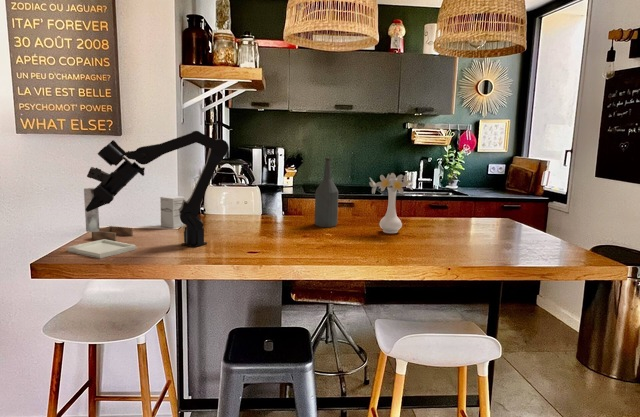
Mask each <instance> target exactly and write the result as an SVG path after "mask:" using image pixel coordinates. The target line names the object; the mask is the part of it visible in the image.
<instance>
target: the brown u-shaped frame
mask: <svg viewBox="0 0 640 417" xmlns="http://www.w3.org/2000/svg"><path fill="white" fill-rule="evenodd" d="M117 235H118V236H127V237H128V236H129V237H133V236H134V227H128V226H127V227H126V226H115V225H109V226H106V227H101V228H99V231H97V232H91V240H94V241H98V240H102V239H106V240H111V241H117Z"/></svg>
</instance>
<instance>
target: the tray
mask: <svg viewBox="0 0 640 417" xmlns="http://www.w3.org/2000/svg"><path fill="white" fill-rule="evenodd" d="M136 250H137V244H132V243H126V242H120V241H117V240H116V241H111V240H106V239H102V240H94V241H89V242H84V243H79V244H74V245H70V246H66V252H67V253H72V254H76V255H81V256H87V257H91V258H95V259H99V260H100V259H104V258H108V257H112V256H116V255H120V254H124V253H128V252H132V251H136Z"/></svg>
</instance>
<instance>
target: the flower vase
mask: <svg viewBox="0 0 640 417" xmlns="http://www.w3.org/2000/svg"><path fill="white" fill-rule="evenodd" d="M379 179H380V181H378V182H375V181H374V180H373V178H371V177H369V180H370V182H369V184H368V185H369V186H370V187H371V194H372V195H376V194H375V193H376V191H377V190H376V189H377V188H378V190H379V189H380V191H381V192H384V191H385V189H386V188H387V193H388V201H387V202H388V203H387V210H386V213H385V215H384V216H383V217H382V218H381V219H380V221H379V227H380V228H381V229H382V232H383V233H385V234H397V233H398V232H399V230H400V229H401V228H402V227H403V223H402V220H401V219H400V218H399V217H398V216H397V215H398V214H397V209H396V200H397V191H398V193H399V194H401V195H403V194H404V188H405V187H407V188H409V189H410V190H412V191H413V187H412V184H413V182H412V180H411V179H409V176H408V174H407V173H405V175H403V174H398V175H396V174H395V173H394V172H391V173H388V174H387V176H386V177H385V176H384V175H383V174H381V175H380V176H379Z"/></svg>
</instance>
